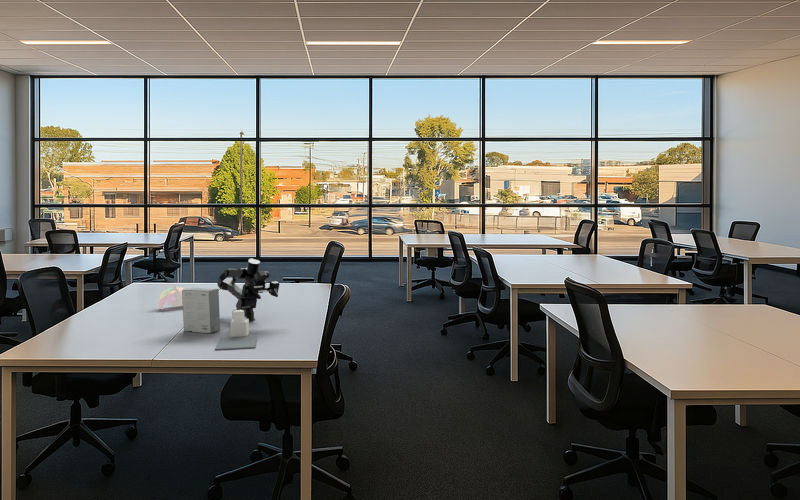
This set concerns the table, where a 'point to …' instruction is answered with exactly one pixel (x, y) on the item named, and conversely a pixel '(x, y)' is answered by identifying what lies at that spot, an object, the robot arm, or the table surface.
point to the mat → (236, 342)
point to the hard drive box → (201, 310)
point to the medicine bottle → (239, 323)
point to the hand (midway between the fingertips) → (269, 297)
